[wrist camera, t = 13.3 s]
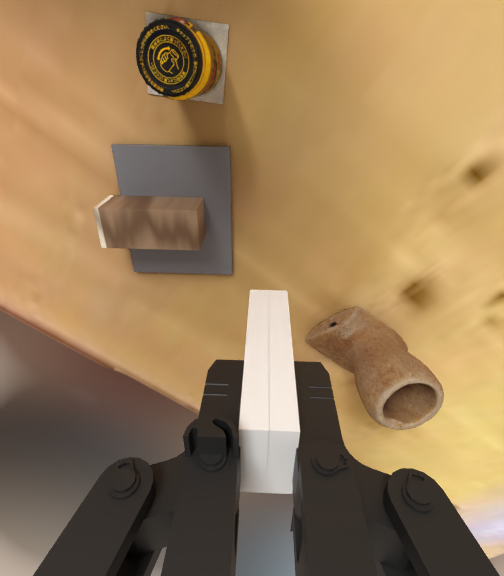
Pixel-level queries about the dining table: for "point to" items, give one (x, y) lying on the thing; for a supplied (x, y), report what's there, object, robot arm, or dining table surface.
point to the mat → (182, 183)
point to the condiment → (183, 57)
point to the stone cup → (380, 368)
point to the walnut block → (151, 222)
